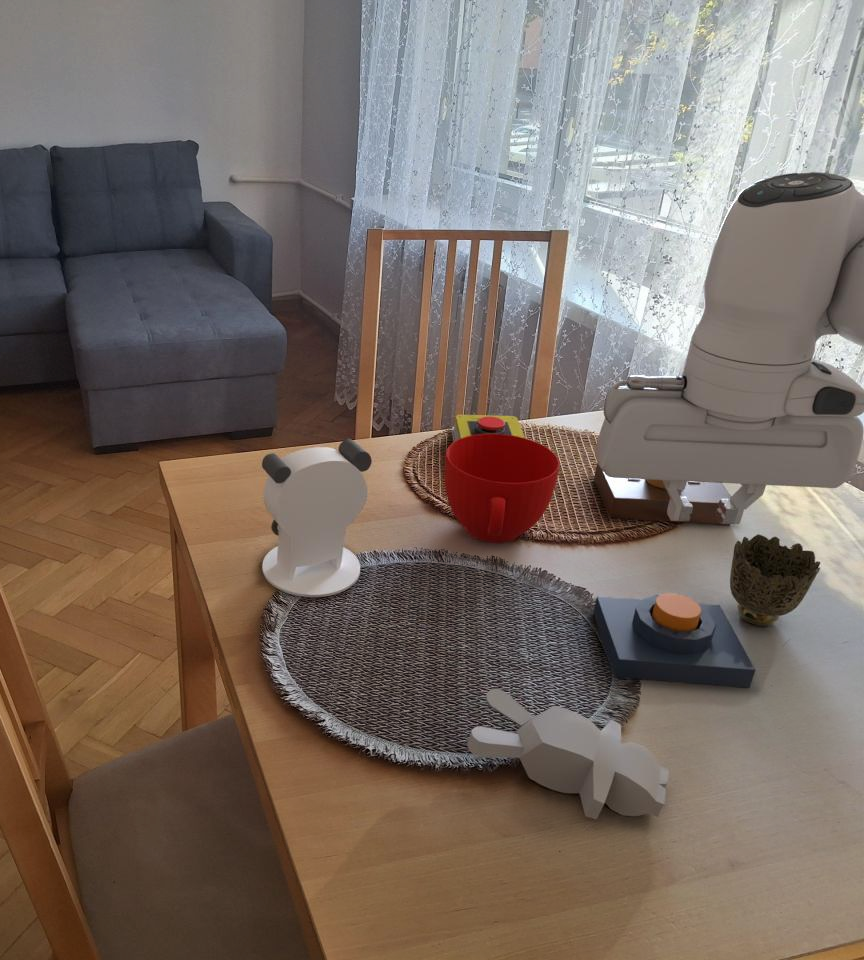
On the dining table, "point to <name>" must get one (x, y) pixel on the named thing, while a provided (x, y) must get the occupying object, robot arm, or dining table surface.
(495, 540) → the ceramic cup
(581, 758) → the bunny figurine
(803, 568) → the cup
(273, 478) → the panda figurine
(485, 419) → the emergency button
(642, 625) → the switch box
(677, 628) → the light button
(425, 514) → the dining table surface
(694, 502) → the dimmer panel
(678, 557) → the dining table surface
